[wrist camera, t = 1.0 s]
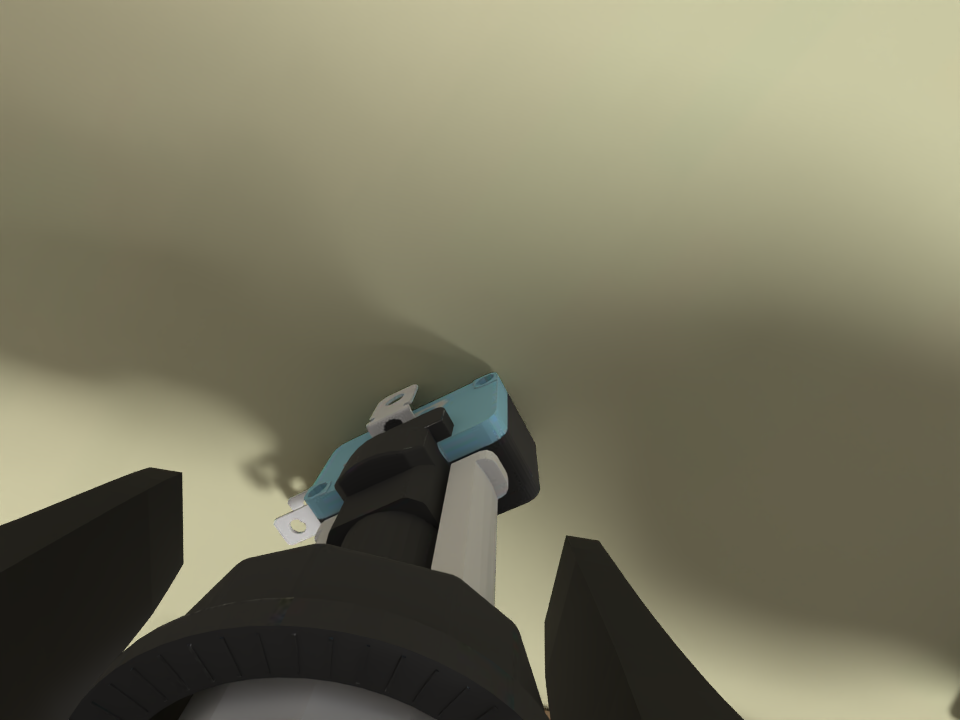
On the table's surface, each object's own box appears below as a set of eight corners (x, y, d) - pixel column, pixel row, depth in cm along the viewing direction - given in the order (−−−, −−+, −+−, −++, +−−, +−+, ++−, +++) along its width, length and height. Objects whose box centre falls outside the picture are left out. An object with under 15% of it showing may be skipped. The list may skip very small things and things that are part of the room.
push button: (352, 571, 16) (114, 1188, 6) (243, 415, 14) (-284, 898, 5) (571, 479, 14) (696, 1074, 5) (475, 297, 13) (387, 637, 4)
